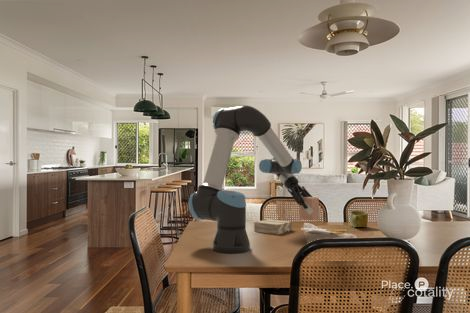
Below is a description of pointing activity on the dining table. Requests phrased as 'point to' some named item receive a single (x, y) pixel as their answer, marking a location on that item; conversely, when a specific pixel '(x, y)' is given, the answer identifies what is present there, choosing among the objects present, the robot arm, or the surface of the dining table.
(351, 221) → the mug
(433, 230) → the dining table surface
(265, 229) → the ash block
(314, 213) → the terracotta block
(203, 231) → the dining table surface
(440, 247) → the dining table surface
